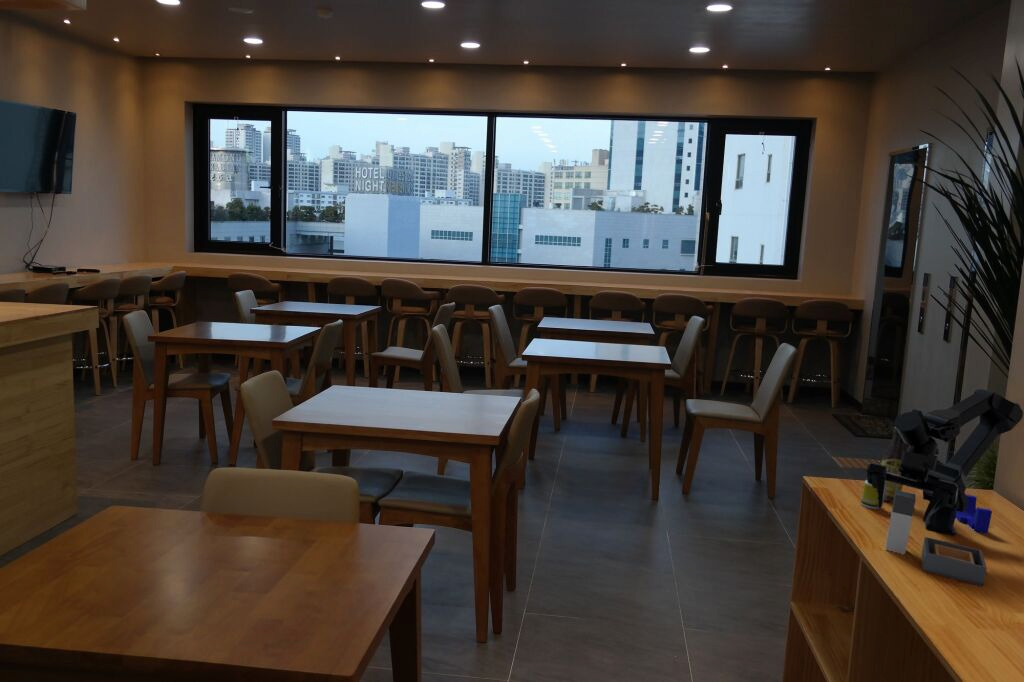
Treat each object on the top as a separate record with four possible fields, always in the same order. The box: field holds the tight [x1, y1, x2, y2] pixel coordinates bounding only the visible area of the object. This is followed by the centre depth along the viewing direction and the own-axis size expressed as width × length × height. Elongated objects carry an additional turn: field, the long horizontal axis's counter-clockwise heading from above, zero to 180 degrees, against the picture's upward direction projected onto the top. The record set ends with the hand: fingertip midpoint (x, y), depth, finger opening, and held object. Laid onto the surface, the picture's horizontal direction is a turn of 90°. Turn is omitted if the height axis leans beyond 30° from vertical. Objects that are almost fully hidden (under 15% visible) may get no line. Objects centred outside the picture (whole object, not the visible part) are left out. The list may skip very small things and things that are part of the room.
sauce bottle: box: [881, 426, 908, 503], centre depth 219 cm, size 6×6×20 cm
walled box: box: [921, 536, 988, 587], centre depth 175 cm, size 11×11×4 cm
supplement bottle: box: [860, 479, 880, 510], centre depth 212 cm, size 5×5×8 cm
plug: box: [885, 490, 916, 555], centre depth 183 cm, size 4×4×13 cm
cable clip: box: [955, 494, 993, 534], centre depth 207 cm, size 12×4×6 cm, turn 169°
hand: (901, 514), depth 183 cm, fingers open, 9 cm apart
